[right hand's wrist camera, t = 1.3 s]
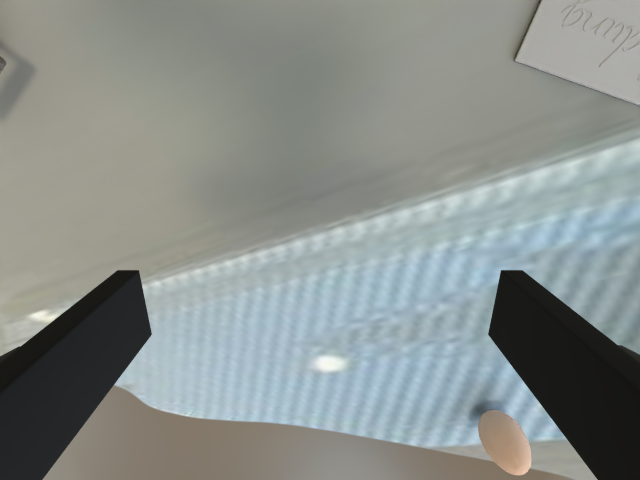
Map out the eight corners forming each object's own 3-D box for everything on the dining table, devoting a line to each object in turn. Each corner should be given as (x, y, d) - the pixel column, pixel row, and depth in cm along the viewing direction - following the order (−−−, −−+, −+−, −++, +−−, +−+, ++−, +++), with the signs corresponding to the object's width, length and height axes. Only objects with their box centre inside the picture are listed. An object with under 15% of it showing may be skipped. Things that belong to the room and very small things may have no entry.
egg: (472, 431, 49) (500, 491, 41) (467, 403, 47) (496, 461, 39) (510, 423, 48) (546, 483, 40) (506, 395, 46) (544, 452, 39)
